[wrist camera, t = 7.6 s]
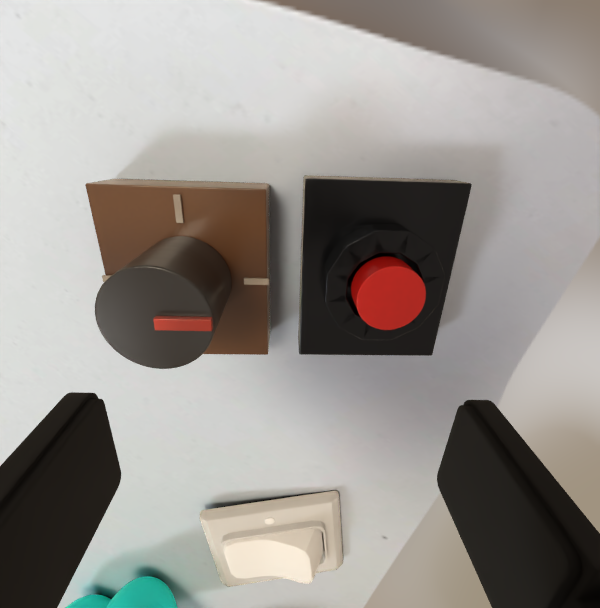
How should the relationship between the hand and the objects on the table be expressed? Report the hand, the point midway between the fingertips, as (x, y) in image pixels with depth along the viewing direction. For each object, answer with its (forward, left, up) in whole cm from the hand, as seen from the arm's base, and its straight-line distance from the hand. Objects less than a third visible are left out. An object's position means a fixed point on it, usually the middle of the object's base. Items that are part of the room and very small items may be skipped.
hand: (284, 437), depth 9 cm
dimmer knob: (0, -6, -11) cm, 13 cm away
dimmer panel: (0, -6, -14) cm, 15 cm away
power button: (0, +5, -11) cm, 12 cm away
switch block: (0, +5, -14) cm, 15 cm away
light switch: (+28, -1, -15) cm, 31 cm away
